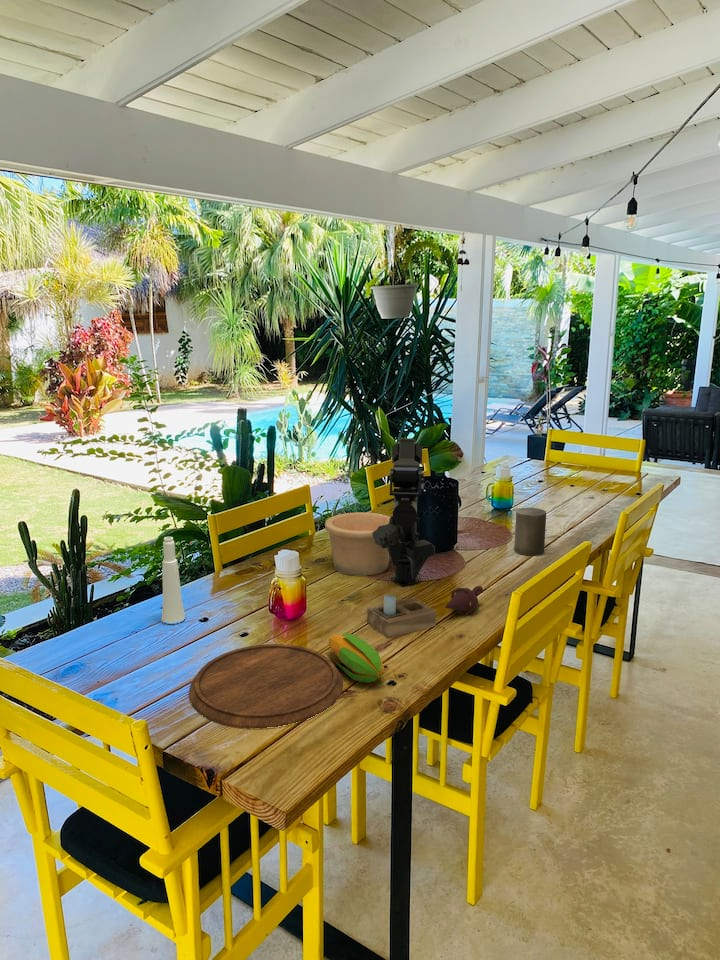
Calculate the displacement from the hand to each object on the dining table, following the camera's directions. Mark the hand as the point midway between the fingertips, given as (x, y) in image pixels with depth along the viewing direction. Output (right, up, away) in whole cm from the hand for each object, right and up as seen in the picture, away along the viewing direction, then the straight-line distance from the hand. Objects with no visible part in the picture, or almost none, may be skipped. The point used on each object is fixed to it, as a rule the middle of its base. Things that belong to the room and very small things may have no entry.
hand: (404, 571), depth 181 cm
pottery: (-11, -3, +38) cm, 40 cm away
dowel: (-4, -13, -4) cm, 14 cm away
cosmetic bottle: (-59, -12, 0) cm, 60 cm away
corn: (-13, -19, -24) cm, 33 cm away
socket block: (-1, -13, -2) cm, 13 cm away
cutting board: (-31, -21, -31) cm, 48 cm away
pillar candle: (+44, 0, +52) cm, 69 cm away
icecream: (+16, -11, +5) cm, 20 cm away
